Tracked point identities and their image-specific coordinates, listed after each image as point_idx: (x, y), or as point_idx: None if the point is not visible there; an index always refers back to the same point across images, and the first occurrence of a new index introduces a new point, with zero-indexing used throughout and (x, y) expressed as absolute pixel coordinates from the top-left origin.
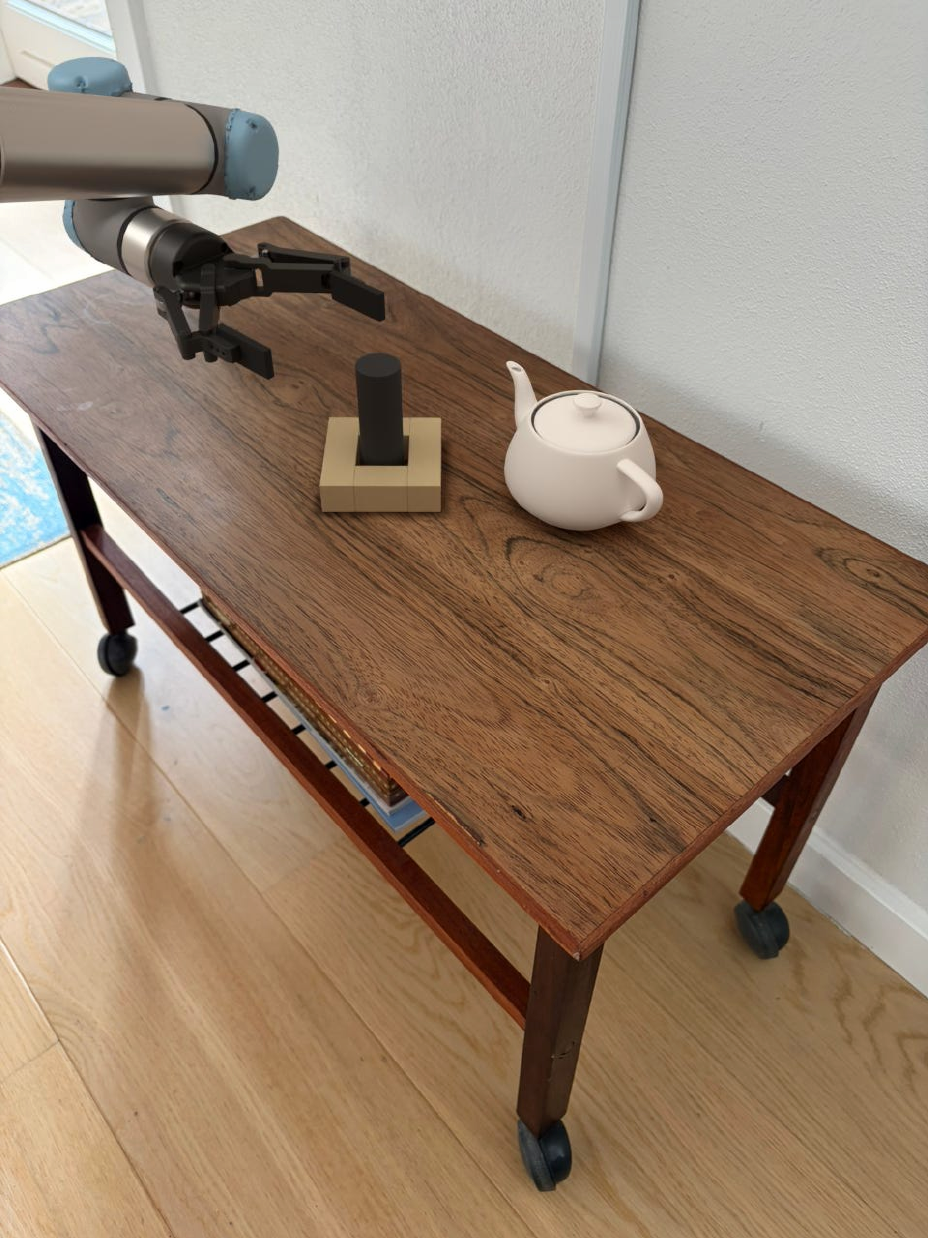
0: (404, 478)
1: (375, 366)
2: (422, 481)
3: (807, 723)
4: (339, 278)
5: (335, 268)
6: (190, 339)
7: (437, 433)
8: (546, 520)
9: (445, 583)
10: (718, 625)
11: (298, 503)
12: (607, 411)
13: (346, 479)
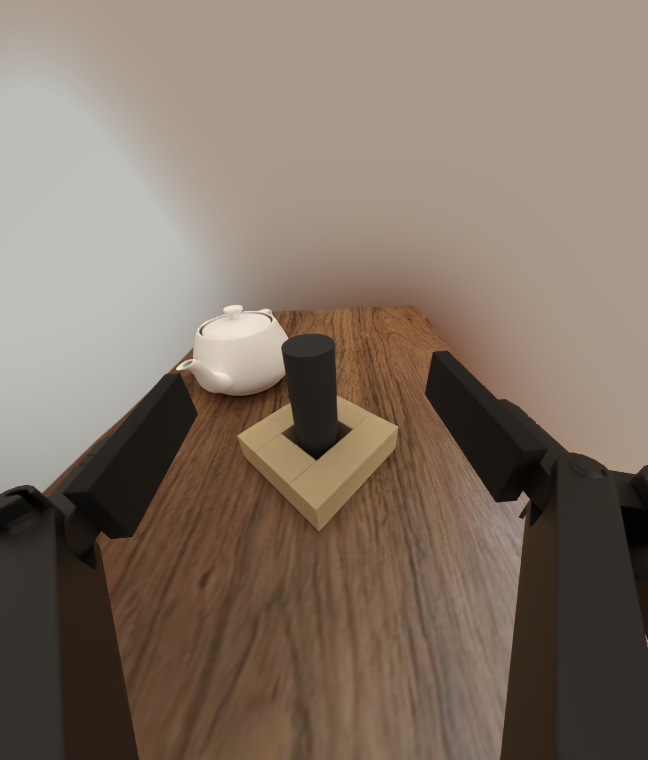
0: None
1: (312, 343)
2: None
3: (311, 310)
4: (118, 457)
5: (49, 500)
6: (634, 475)
7: (262, 422)
8: None
9: (362, 372)
10: (292, 328)
11: (410, 469)
12: (221, 320)
13: (371, 420)
